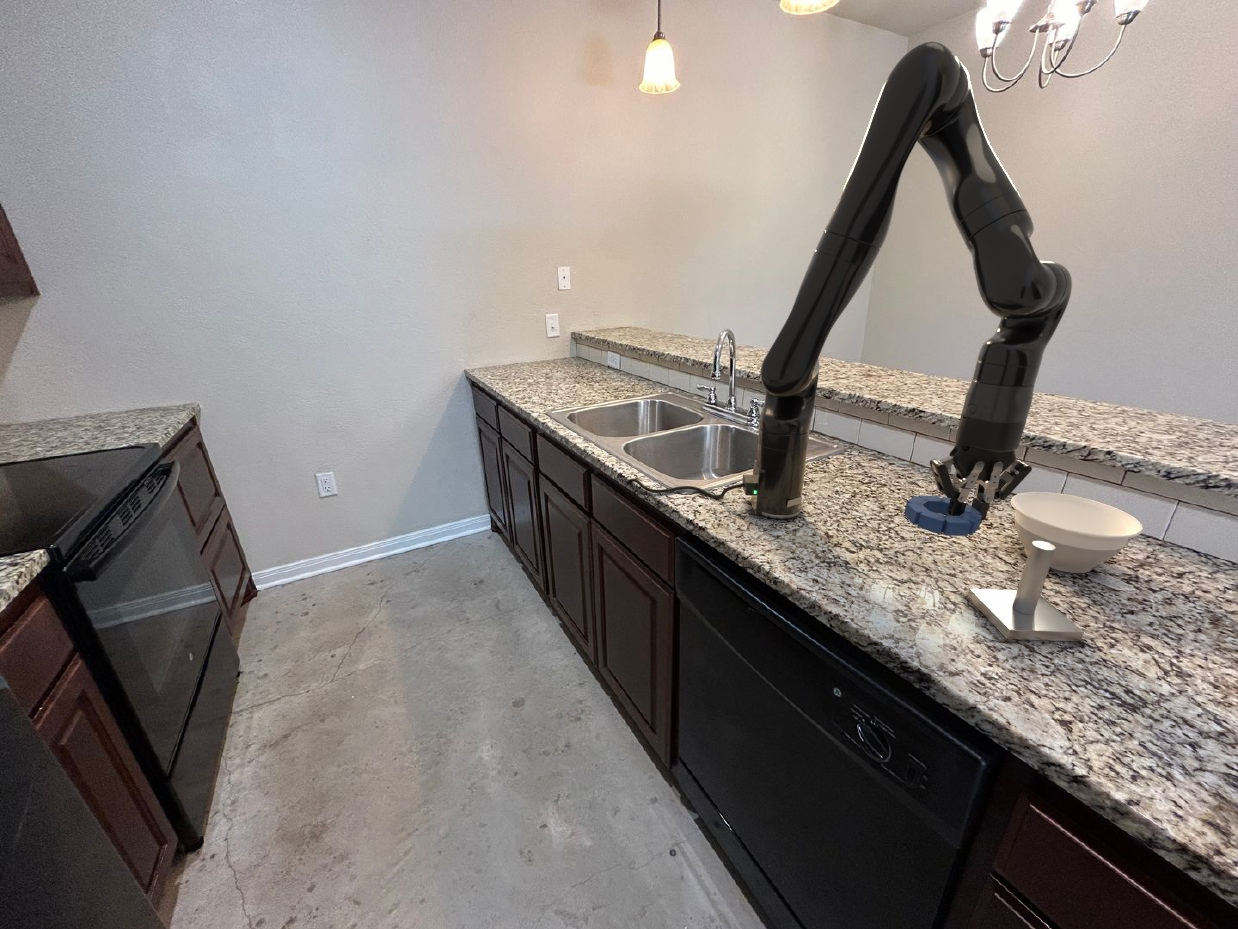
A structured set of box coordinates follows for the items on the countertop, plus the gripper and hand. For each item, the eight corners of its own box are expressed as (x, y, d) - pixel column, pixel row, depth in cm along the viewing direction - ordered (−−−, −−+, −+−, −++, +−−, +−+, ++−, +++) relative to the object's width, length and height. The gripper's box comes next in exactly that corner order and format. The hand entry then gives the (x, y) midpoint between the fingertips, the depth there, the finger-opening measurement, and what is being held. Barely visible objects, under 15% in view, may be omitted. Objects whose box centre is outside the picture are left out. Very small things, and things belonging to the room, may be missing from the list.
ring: (923, 535, 73) (926, 521, 72) (895, 506, 82) (898, 494, 81) (990, 537, 72) (994, 523, 72) (955, 508, 81) (958, 496, 80)
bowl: (1008, 525, 93) (1020, 483, 90) (1126, 557, 82) (1145, 510, 79) (988, 559, 82) (1001, 513, 79) (1120, 600, 72) (1142, 548, 69)
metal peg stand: (1006, 639, 65) (1031, 563, 61) (967, 597, 73) (986, 528, 69) (1080, 641, 64) (1110, 565, 60) (1032, 598, 72) (1055, 529, 68)
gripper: (1028, 406, 73) (996, 511, 80) (929, 405, 74) (906, 509, 81) (1066, 421, 66) (1028, 535, 73) (957, 419, 68) (929, 532, 74)
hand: (964, 521), depth 77 cm, fingers closed on ring, 2 cm apart
